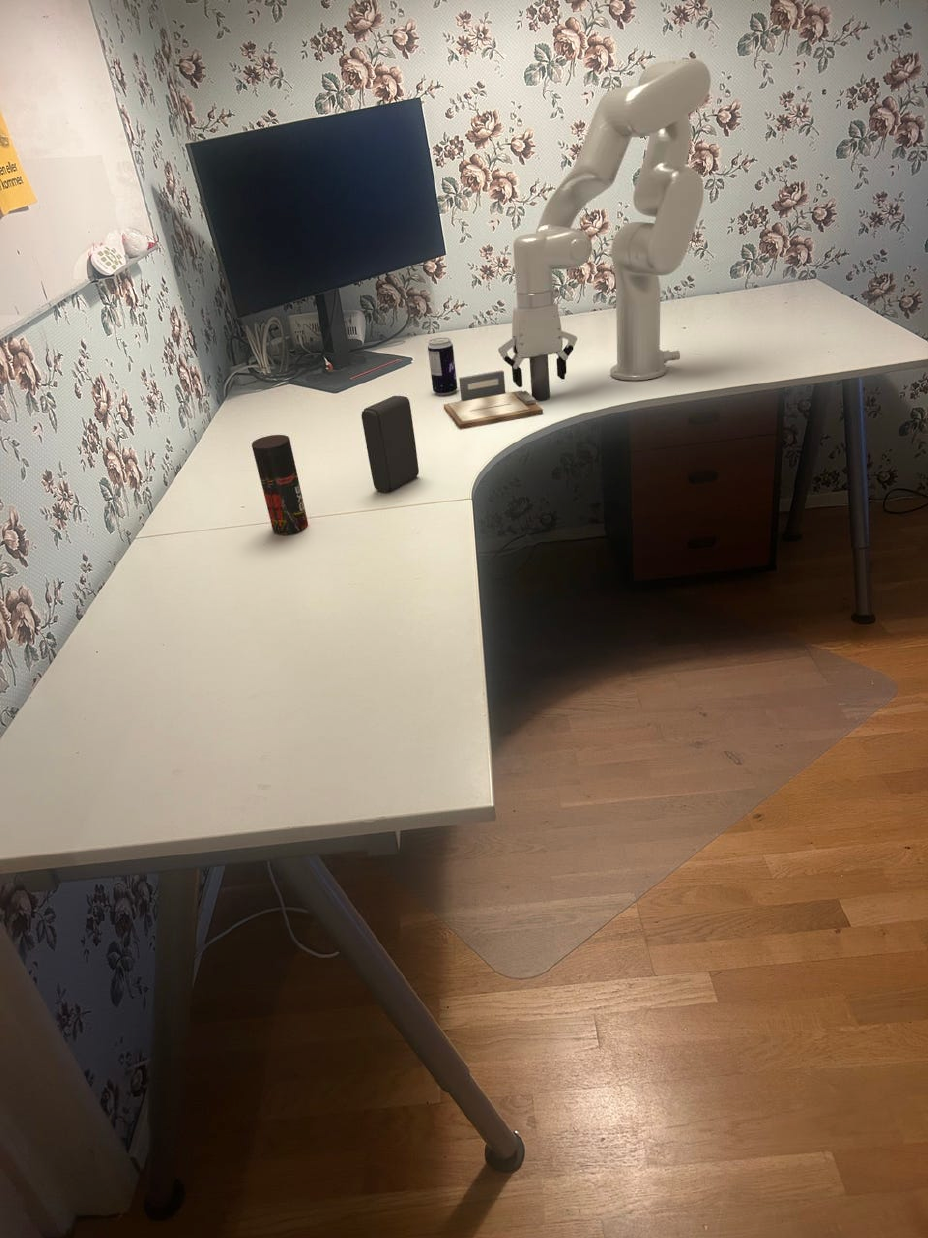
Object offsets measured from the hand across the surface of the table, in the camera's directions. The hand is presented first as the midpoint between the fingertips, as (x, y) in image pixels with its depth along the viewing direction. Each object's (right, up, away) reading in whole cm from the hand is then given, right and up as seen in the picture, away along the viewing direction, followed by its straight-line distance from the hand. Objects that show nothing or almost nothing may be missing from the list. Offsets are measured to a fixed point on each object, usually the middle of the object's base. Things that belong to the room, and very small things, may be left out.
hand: (540, 381), depth 185 cm
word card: (-12, -1, +7) cm, 14 cm away
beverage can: (-21, +1, +13) cm, 24 cm away
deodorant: (-45, -36, -43) cm, 72 cm away
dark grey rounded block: (-28, -27, -31) cm, 50 cm away
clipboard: (-10, -7, -2) cm, 13 cm away
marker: (0, -3, +2) cm, 4 cm away
